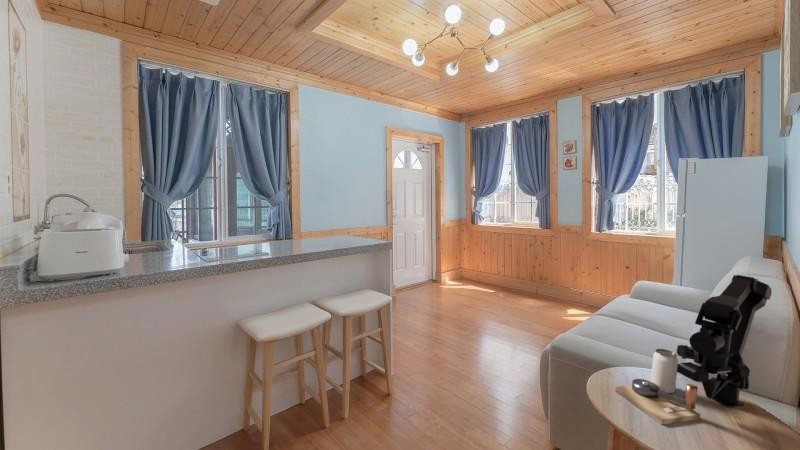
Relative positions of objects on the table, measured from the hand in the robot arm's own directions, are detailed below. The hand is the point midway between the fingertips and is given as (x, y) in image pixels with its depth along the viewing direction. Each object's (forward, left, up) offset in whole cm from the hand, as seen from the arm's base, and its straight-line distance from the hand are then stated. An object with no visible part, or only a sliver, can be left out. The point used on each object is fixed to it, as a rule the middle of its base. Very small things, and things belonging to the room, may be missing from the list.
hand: (709, 397), depth 102 cm
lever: (+9, -7, -3) cm, 11 cm away
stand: (+11, -7, -5) cm, 14 cm away
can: (+1, -14, -5) cm, 15 cm away
